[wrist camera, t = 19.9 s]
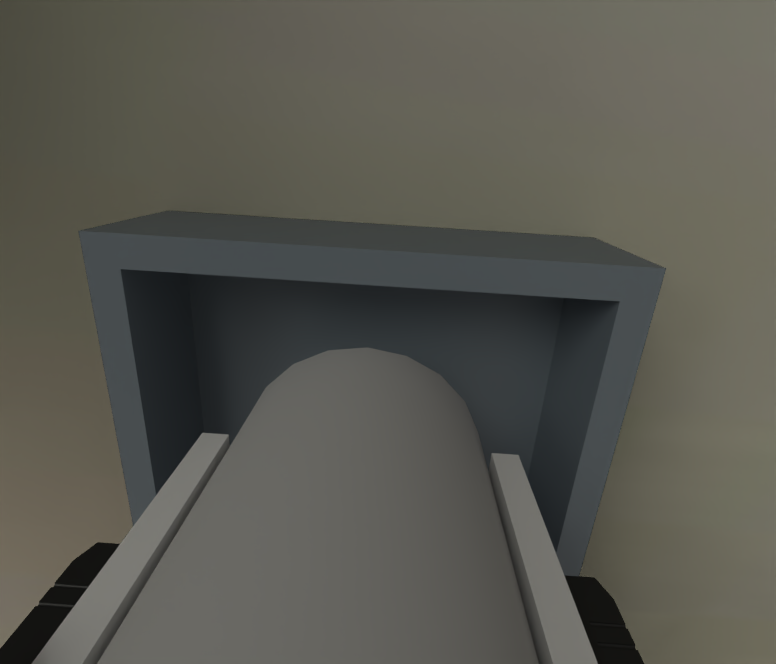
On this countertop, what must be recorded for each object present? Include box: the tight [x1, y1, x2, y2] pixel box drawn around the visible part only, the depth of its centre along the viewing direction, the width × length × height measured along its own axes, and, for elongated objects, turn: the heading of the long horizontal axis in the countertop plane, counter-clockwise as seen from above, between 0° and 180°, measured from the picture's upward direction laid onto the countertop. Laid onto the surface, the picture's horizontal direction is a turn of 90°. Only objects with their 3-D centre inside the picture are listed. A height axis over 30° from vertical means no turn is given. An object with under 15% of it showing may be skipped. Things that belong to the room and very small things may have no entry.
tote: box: [79, 211, 666, 576], centre depth 19 cm, size 24×16×5 cm, turn 177°
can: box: [97, 347, 539, 664], centre depth 10 cm, size 8×8×12 cm
